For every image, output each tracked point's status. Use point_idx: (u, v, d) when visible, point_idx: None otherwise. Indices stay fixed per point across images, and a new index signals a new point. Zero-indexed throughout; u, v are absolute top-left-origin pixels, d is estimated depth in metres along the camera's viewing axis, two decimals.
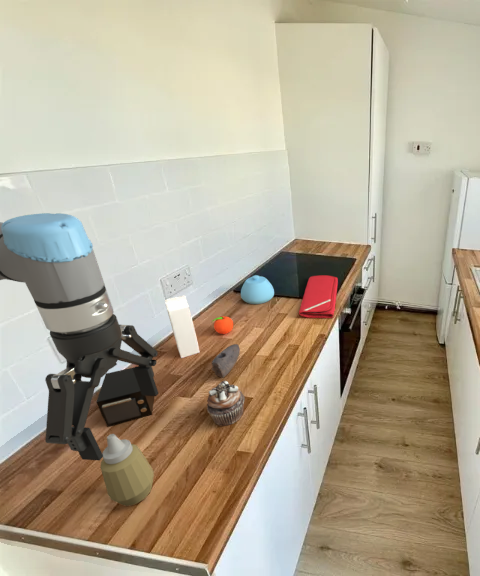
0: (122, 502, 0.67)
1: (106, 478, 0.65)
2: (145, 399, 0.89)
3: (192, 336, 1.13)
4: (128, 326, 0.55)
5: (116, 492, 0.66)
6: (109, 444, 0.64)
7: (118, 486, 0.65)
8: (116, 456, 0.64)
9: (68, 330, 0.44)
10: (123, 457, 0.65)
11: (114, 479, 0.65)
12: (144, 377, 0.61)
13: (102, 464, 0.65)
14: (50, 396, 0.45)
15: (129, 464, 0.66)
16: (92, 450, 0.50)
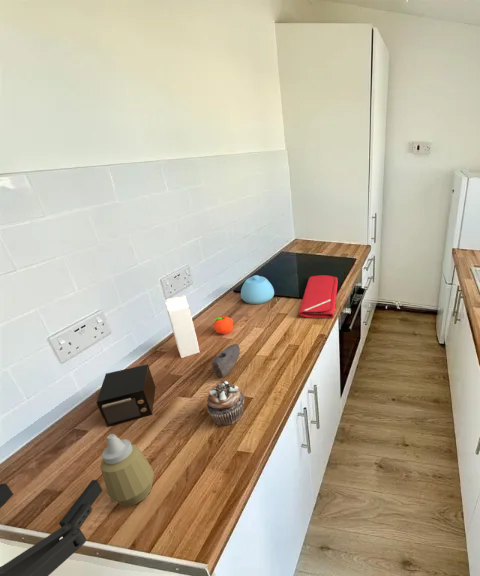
0: (122, 502, 0.67)
1: (106, 478, 0.65)
2: (145, 399, 0.89)
3: (192, 336, 1.13)
4: None
5: (116, 492, 0.66)
6: (109, 444, 0.64)
7: (118, 486, 0.65)
8: (116, 456, 0.64)
9: None
10: (123, 457, 0.65)
11: (114, 479, 0.65)
12: None
13: (102, 464, 0.65)
14: None
15: (129, 464, 0.66)
16: None
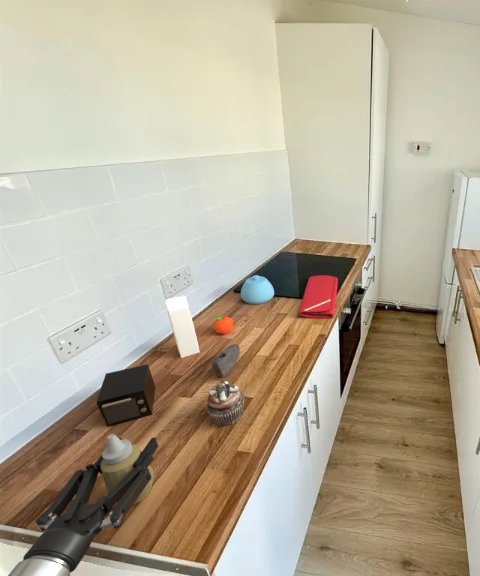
0: None
1: (106, 478, 0.65)
2: (145, 399, 0.89)
3: (192, 336, 1.13)
4: (116, 527, 0.58)
5: None
6: (109, 444, 0.64)
7: None
8: (116, 456, 0.64)
9: None
10: (123, 457, 0.65)
11: (114, 479, 0.65)
12: None
13: (102, 464, 0.65)
14: (51, 504, 0.59)
15: (129, 464, 0.66)
16: None
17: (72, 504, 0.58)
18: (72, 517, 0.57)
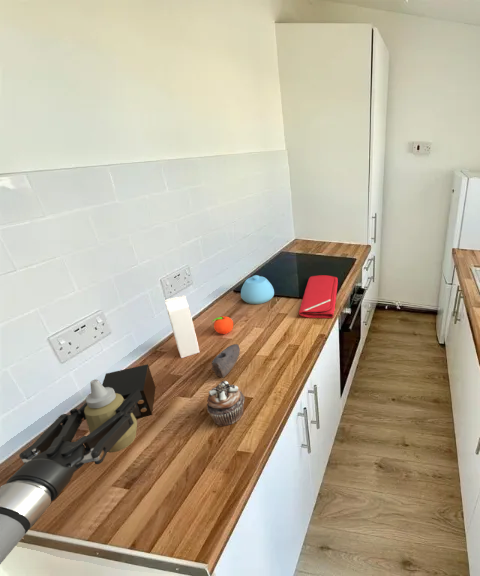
0: None
1: (89, 422, 0.67)
2: (145, 399, 0.89)
3: (192, 336, 1.13)
4: (97, 462, 0.60)
5: None
6: (92, 389, 0.66)
7: None
8: (99, 400, 0.67)
9: None
10: (106, 402, 0.68)
11: (97, 423, 0.67)
12: None
13: (86, 409, 0.67)
14: (35, 442, 0.61)
15: (112, 409, 0.68)
16: None
17: (55, 441, 0.61)
18: (54, 452, 0.59)
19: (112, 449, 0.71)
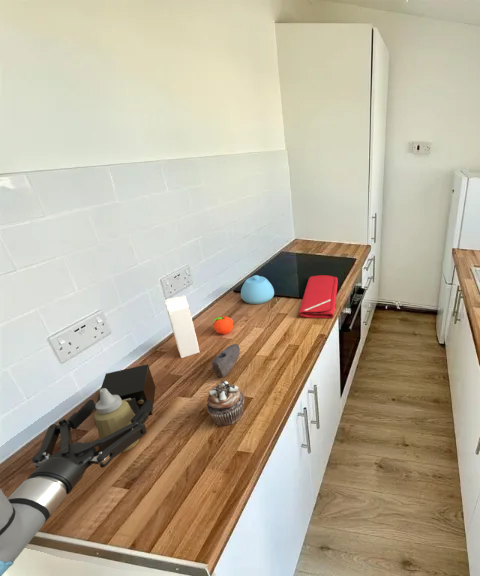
0: None
1: (98, 426, 0.76)
2: (145, 399, 0.89)
3: (192, 336, 1.13)
4: (101, 466, 0.67)
5: None
6: (101, 396, 0.75)
7: (109, 433, 0.76)
8: (107, 407, 0.75)
9: None
10: (114, 408, 0.76)
11: (105, 426, 0.75)
12: None
13: (95, 414, 0.76)
14: (40, 448, 0.68)
15: (118, 414, 0.76)
16: None
17: (63, 444, 0.68)
18: (68, 451, 0.67)
19: None
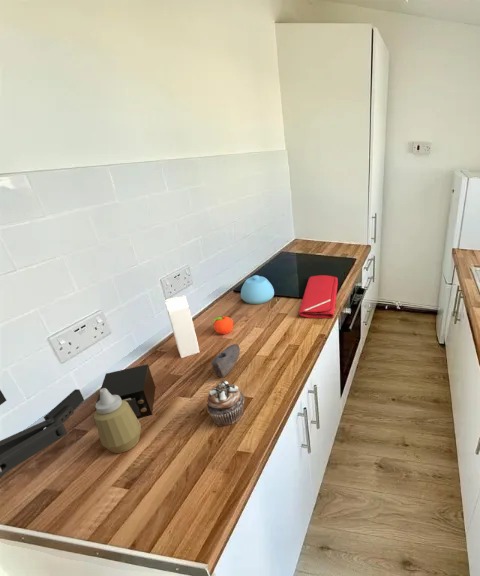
0: (113, 448, 0.78)
1: (98, 426, 0.76)
2: (145, 399, 0.89)
3: (192, 336, 1.13)
4: None
5: (107, 439, 0.77)
6: (101, 396, 0.75)
7: (109, 433, 0.76)
8: (107, 407, 0.75)
9: None
10: (114, 408, 0.76)
11: (105, 426, 0.75)
12: None
13: (95, 414, 0.76)
14: None
15: (119, 414, 0.76)
16: None
17: None
18: None
19: (119, 450, 0.79)
